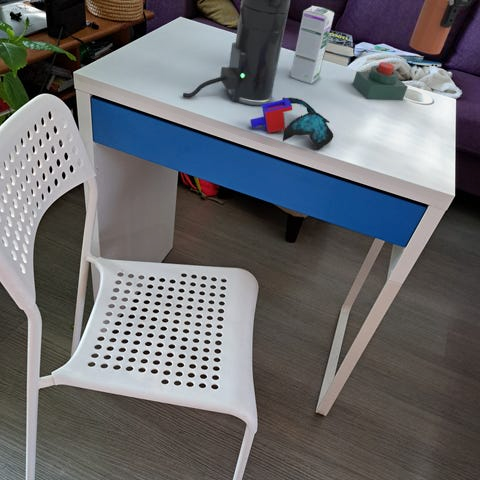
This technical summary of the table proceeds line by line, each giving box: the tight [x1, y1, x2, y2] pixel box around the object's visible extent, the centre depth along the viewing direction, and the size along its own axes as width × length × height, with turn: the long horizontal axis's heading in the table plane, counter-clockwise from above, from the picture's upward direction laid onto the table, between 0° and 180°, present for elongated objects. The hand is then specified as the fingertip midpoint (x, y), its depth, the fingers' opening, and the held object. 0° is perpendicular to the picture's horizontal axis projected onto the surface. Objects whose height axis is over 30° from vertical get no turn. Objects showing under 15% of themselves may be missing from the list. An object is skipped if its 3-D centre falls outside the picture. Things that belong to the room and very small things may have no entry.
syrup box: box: [289, 5, 335, 84], centre depth 116 cm, size 6×6×14 cm
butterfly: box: [281, 97, 334, 151], centre depth 98 cm, size 17×5×10 cm
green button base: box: [352, 65, 408, 101], centre depth 120 cm, size 10×8×5 cm
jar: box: [408, 0, 452, 55], centre depth 101 cm, size 7×7×10 cm
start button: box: [377, 61, 395, 75], centre depth 118 cm, size 4×4×2 cm
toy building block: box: [250, 98, 293, 134], centre depth 97 cm, size 4×4×8 cm
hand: (435, 20), depth 101 cm, fingers closed on jar, 6 cm apart
